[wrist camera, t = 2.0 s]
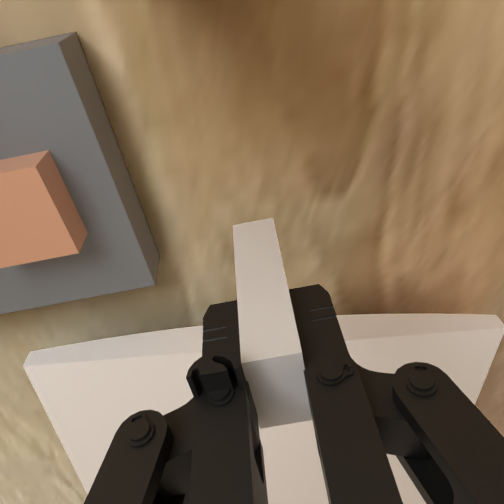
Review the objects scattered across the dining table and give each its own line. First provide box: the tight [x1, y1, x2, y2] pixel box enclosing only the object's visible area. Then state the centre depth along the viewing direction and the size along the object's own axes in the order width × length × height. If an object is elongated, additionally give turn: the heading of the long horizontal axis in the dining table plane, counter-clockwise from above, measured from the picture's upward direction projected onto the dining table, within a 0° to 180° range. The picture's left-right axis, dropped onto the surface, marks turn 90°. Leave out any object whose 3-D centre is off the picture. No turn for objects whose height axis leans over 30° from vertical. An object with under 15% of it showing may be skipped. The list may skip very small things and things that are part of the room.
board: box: [23, 314, 504, 504], centre depth 44 cm, size 45×32×5 cm
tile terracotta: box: [0, 150, 88, 268], centre depth 23 cm, size 5×5×2 cm
